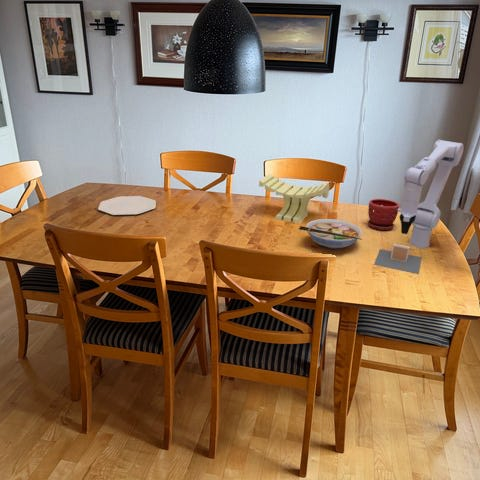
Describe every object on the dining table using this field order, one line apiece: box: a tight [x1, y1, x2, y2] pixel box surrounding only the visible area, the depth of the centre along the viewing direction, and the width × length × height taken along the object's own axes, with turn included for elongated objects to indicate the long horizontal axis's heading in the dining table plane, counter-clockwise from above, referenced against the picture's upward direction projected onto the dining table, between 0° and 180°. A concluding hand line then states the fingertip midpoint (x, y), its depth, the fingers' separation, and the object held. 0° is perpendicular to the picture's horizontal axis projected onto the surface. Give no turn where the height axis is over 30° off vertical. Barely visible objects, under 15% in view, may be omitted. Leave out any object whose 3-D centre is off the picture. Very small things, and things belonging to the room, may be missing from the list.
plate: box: [97, 195, 157, 216], centre depth 213 cm, size 28×28×2 cm
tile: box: [390, 243, 411, 262], centre depth 163 cm, size 2×6×6 cm, turn 65°
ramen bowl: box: [298, 218, 363, 249], centre depth 176 cm, size 25×23×8 cm
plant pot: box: [367, 198, 400, 231], centre depth 196 cm, size 13×13×12 cm
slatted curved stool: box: [258, 173, 330, 224], centre depth 204 cm, size 30×16×18 cm, turn 66°
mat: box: [373, 248, 423, 275], centre depth 164 cm, size 16×16×1 cm
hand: (404, 233), depth 165 cm, fingers closed
